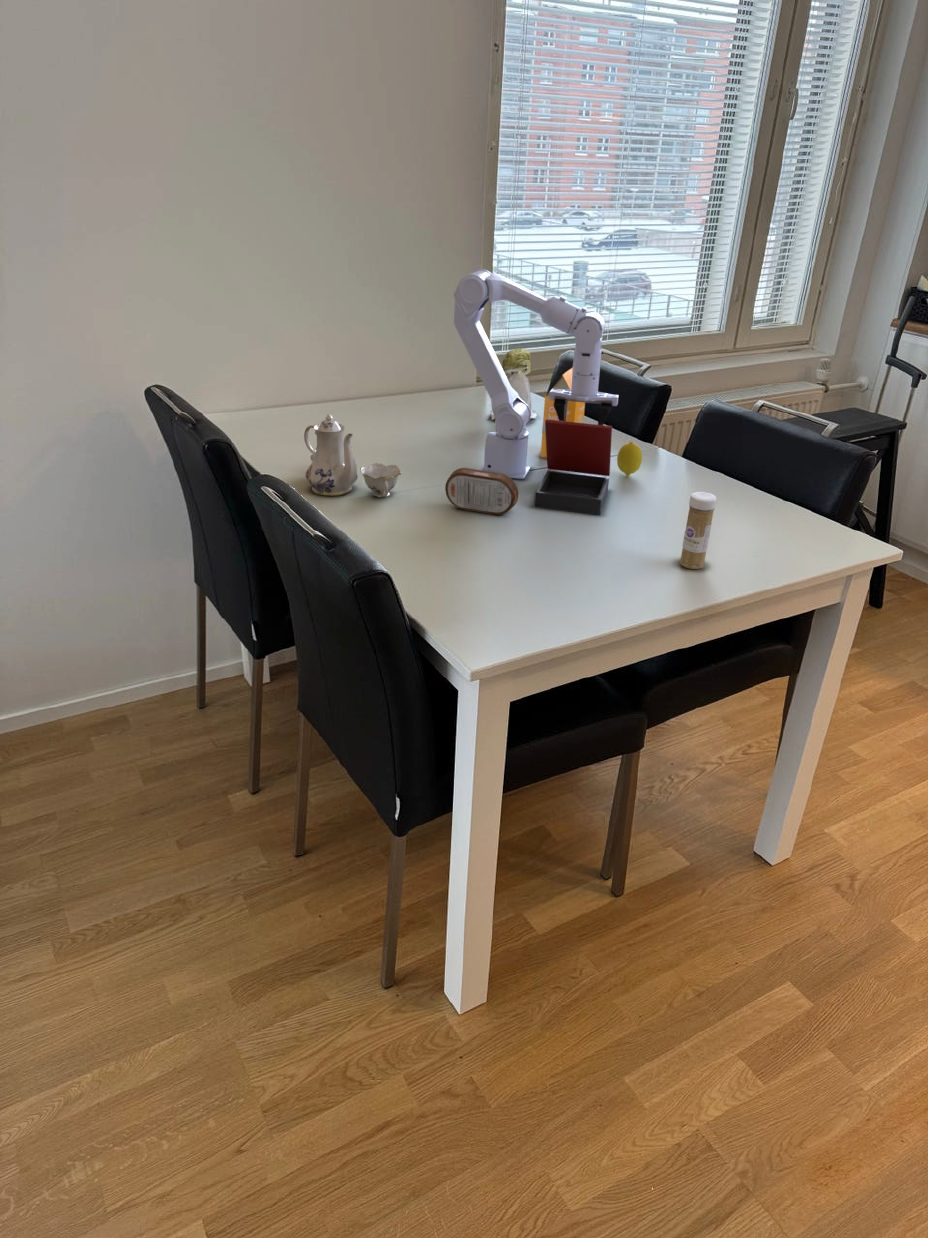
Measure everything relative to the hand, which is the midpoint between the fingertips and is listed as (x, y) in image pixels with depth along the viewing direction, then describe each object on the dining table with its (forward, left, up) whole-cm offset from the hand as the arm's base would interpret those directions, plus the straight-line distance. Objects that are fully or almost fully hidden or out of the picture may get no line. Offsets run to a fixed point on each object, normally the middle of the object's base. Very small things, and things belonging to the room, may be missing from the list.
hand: (580, 435), depth 200 cm
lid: (+1, -9, 0) cm, 9 cm away
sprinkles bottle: (+27, -38, -11) cm, 48 cm away
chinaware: (-48, -21, -11) cm, 53 cm away
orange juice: (-6, +17, -11) cm, 21 cm away
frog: (-23, +43, -11) cm, 50 cm away
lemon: (+11, +7, -11) cm, 17 cm away
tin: (-16, -25, -11) cm, 32 cm away
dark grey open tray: (+1, -12, -10) cm, 16 cm away
